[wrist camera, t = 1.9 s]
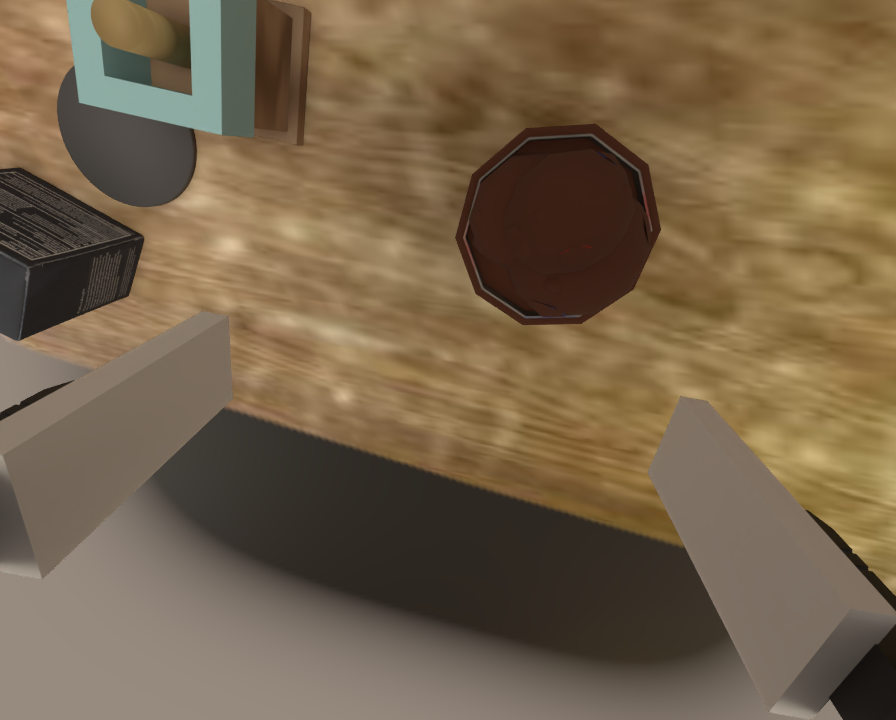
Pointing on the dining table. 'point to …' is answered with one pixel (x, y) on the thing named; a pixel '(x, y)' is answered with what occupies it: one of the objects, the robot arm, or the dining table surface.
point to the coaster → (125, 150)
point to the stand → (169, 50)
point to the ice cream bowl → (558, 224)
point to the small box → (57, 256)
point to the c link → (212, 66)
